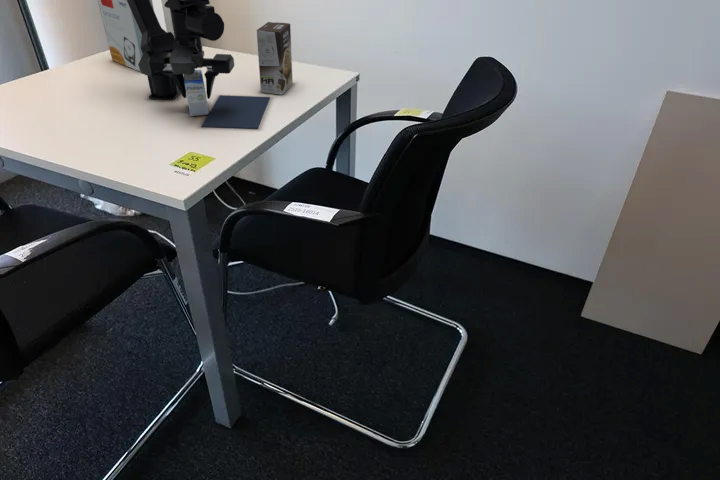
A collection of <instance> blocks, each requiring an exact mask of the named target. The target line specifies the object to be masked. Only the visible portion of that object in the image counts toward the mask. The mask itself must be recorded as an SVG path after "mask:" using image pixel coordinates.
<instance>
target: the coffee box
mask: <svg viewBox="0 0 720 480" xmlns="http://www.w3.org/2000/svg"><path fill="white" fill-rule="evenodd" d="M291 34H292V33H291V23H289V22H272V21H267V22H266V23H264V24H263V25H262V26H260V27H259V28H257V29H256V42H257V56H258V69H259V83H260V84H259V85H260V92H261V93H263V94H273V95H280V96H282V95H284V94H285V93H286V91H287V90H288V89H290V87H291V86H292V85H293V56H292V35H291Z"/></svg>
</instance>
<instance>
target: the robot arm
mask: <svg viewBox="0 0 720 480" xmlns="http://www.w3.org/2000/svg"><path fill="white" fill-rule="evenodd" d="M127 2H128V4H129V7H130V9H131V11H132V14H133V16H134V18H135V20H136V23H137V25H138V27H139V29H140V32H141V34H142V38H141V47H140V48H141V51H142V54H143V55H142V57H141V59H140V62H139V64H138V66H139V69H140V71H141V72H140V71H139V72H140V73H141V75H145V76H146V77H147V81H148V87H149V91H150V95H148V99H150V100H171V101H172V100H175V99H176V98H177V96H178V95H179V94H180V95H181V96H182V98H183V99H186V98H187V94H186V88H185V82H184V74H187V75H192V74H193V73H194V72H195V70H198V69H203V68H206V71H205V73H204V77H205V92H206V99H207V100H209V99H211V97H212V96H211V95H212V92H213V87H214V83H215V80H216V77H217V76H219V75H220V74H226V75H227V74H231V72H232V71H233V69H234V68H235V59H234V57H233V55H232V54H228V53H227V54H226V53H216V54H215V55H214V56H213V57H211V58H210V57H209V58H208V57H207V58H206V57H205V50H203V49H204V48H203V43H202V39H205V40H208V41H210V42H211V41H212V42H216V41H218V40H219V39H221V37H222V36H223V34H224V32H225V22H224V21H223V18H222V17H221V15H220V14H219V13H217V12H215V7H214V5H210V3H211V2H210V0H166V1H165V3H164V7H165V8H167V9H169V12H170V18H171V19H170V20H171V24H172V31H173V32H171V31H166V30H165V29H164V28H162V26H161V24H160V22H159V19H158V17H157V14H156V12H155V9H154V10H153V8H154V6H153V7H152V5H151V3H150V1H149V0H127Z"/></svg>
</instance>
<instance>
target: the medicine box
mask: <svg viewBox="0 0 720 480" xmlns="http://www.w3.org/2000/svg"><path fill="white" fill-rule="evenodd" d="M183 76H184V82H185V88H186V98H187V105H188V110H189V115H190V117H195V116H197V117H198V116H205V115H208V114H209V112H210V111H209V105H208V98H207V91H206V84H205V81H204V77H203V71H202V69H195V72H194V73H193V74H192V75H187V74H183Z"/></svg>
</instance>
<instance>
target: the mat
mask: <svg viewBox="0 0 720 480" xmlns="http://www.w3.org/2000/svg"><path fill="white" fill-rule="evenodd" d="M270 99H271V97H270V96H250V95H249V96H248V95H219V96H218V97H217V99H216V100H215V103H214V104H213V105H212V108H211V109H210V110H209V111H208V112H209V114H207V116H206V118H205V119H204V121H203V122H202V124H201V127H200V128H219V129H244V130H245V129H247V130H259V126H260V124H261V121H262V119H263V116H264V114H265V111H266V109H267V106H268V104H269V101H270Z"/></svg>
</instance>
